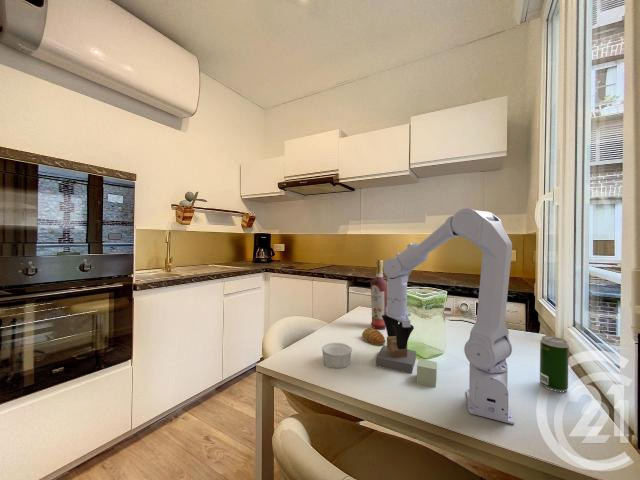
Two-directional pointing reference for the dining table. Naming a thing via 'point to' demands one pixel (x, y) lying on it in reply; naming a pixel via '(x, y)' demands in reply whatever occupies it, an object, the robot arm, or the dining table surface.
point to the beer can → (554, 363)
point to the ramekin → (336, 355)
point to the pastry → (373, 336)
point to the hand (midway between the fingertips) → (396, 343)
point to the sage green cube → (427, 372)
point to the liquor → (378, 297)
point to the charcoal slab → (396, 360)
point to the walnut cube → (395, 348)
